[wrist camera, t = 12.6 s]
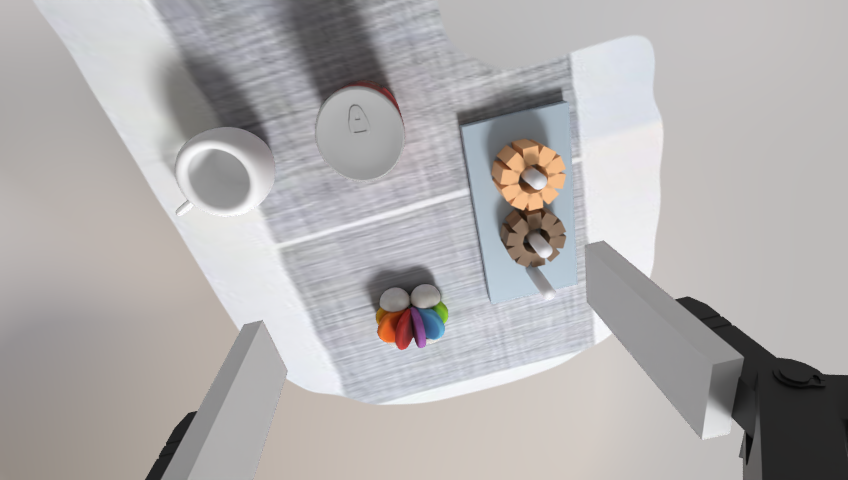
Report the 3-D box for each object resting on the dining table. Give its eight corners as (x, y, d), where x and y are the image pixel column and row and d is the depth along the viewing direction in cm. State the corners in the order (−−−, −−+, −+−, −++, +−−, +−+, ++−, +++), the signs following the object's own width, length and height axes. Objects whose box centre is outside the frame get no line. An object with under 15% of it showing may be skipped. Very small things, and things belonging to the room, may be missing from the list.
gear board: (459, 125, 44) (473, 137, 37) (563, 100, 44) (595, 108, 37) (488, 298, 54) (503, 332, 47) (572, 278, 54) (599, 309, 47)
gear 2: (496, 211, 47) (503, 221, 44) (554, 198, 47) (564, 206, 44) (503, 261, 50) (510, 272, 47) (557, 248, 50) (567, 259, 47)
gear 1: (487, 147, 44) (496, 155, 40) (549, 132, 44) (564, 139, 40) (495, 204, 47) (504, 216, 43) (553, 190, 47) (567, 201, 43)
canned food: (380, 66, 41) (378, 69, 31) (413, 136, 44) (421, 159, 34) (316, 99, 41) (294, 112, 31) (353, 166, 45) (344, 196, 35)
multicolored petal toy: (372, 285, 52) (370, 318, 45) (444, 277, 52) (452, 308, 46) (380, 335, 55) (379, 372, 49) (447, 327, 56) (455, 363, 49)
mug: (242, 104, 41) (212, 113, 34) (299, 167, 44) (283, 187, 37) (165, 172, 43) (121, 194, 36) (225, 227, 46) (196, 257, 39)
